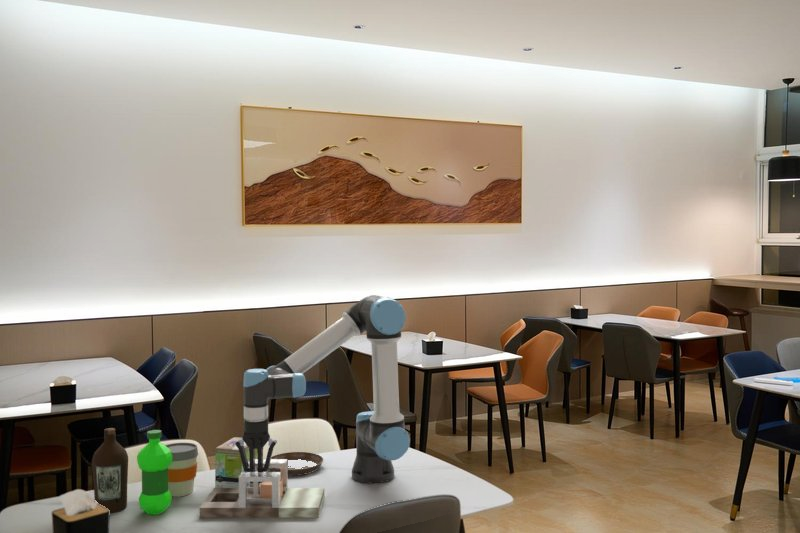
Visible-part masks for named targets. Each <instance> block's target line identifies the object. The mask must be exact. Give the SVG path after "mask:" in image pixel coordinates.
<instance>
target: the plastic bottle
mask: <svg viewBox="0 0 800 533" xmlns="http://www.w3.org/2000/svg"><path fill="white" fill-rule="evenodd" d="M162 437H163V436H162V430H161V429H152V430H151V429H150V430H148V431H146V438H147V440H148V443H147V444H145V446H144V447H142V448H141V449H140V450H139V451H138V454H137V456H136V461H137V466H138V468H139V469H140V470H141V492H140V495H139V497H138V504H139V506H140V508H141V510H142V511H144V512H145V513H146V514H147V515H151V516H155V515H160V514H162V513H163V512H165V511H166V510H167V509H168V508H169V507H170V505H171V504H172V499H173V497H172V496H171V494H170V492H169V490H168V467H169V466H170V465H171V463H172V454H171V451H170V449H169V448H168V447H166V446H165V445H166V444H164V443H162V442H161V438H162Z"/></svg>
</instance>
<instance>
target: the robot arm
mask: <svg viewBox="0 0 800 533" xmlns="http://www.w3.org/2000/svg"><path fill="white" fill-rule="evenodd" d="M405 324H406V310H405V308H404V307H403V305H402V304H401V303H400V302H399V301H397V300H395V299H394V298H391V297H388V296H387V297H386V296H381V295H375V294H374V295H372V294H371V295H368V296H365V297H364V298H362V299H360V300H359V301H357V302H356V303H355V304H353V305H352V306H351V307H349V308H348V309H347V310H345V311H343V313H342V316H341V318H339V319H338V320H336V321H335V322H334V323H332V324H331V325H329V326H328V327H327V328H326V329H324V330H323V331H322V332H320V333H318V334H317V335H316V336H315V337H313V338H312V339H311V340H309V341H308V342H306V343H305V344H304V345H302V346H300V348H299V349H297V350H296V351H294V352H293V353H292V354H290V355H289V356H288V357H286V358H285V359H284V360H282V361H281V362H279V363H278V364H276V365H271V366H268V367H267V368H266V369H264V368H249V369H247V370H245V371H244V373H243V384H242V387H243V419H244V420H243V435H242V437H241V438H242V439H240V440H237V442H236V443H235V445H236V446H237V448H238V449H239V453H240V457H241V461H242V465H243V468H244V471H245V472H255V449H257V452H258V472H268V470H269V469H270V468H269V465H270V461H271V457H272V456H273V453H274V452H273V451H274V447H275V446H276V445H277V442H278V440H276V439H273V438H271V434H269V433H270V432H269V419H268V417H269V400H274V399H289V398H297V397H302V396H304V395H305V394H306V392H307V379H306V377H305V374H304V373H306V372H307V371H308V370H310V369H311V368H312V367H314V366H315V365H317V364H318V363H319V362H321V361H322V360H324V359H325V358H326V357H328V356H329V355H330V354H331V353H332V352H334V351H336V350H337V349H338V348H339V347H342V345H343V344H345V343H346V342H347V341H349V340H350V339H351V338H353V337H354V336H361V334H363V333H365V332H366V340H368V341H369V342H370V344H371V345H370V346H371V369H372V393H373V394H372V395H373V396H372V397H373V398H372V399H373V410H372V411H371V410H370V411H362V412H359V413H358V414H356V422H355V427H356V428H355V430H356V431H355V433H356V434H355V438H356V442H355V443H356V444H355V445H356V453H355V454H356V455H355V459H354V462H353V464H352V468H351V478H352V479H353V480H355V481H356V482H360V483H365V484H377V483H384V482H389V481H391V480H393V479H394V478H395V468H394V464H393V463H392V462H393V461H396V460H400V459H401V458H402V457H403V456H404V455H405V454H406V453H407V452H408V450H409V447H410V443H411V438H410V434H409V432H408V431H407V430H406V429H405V416H404V415H403V414H402V413H401V412H400V396H399V395H400V393H399V367H398V366H399V365H398V364H399V362H398V341H399V340H400V339H401V338H402V329H403V327H404V326H405ZM244 442H245V443H246V445H247V446H248V447H249V453H250V467H249V464H248V460H247V456H246V452H245V448H244ZM267 443H268V446H269V447H268V449H267V454H266V457H265V459H266V462H265V466H264V467H263V459H264V447H265V445H266V444H267ZM250 483H253V495H258V494H259V492H260V484H261V483H262V482H250Z"/></svg>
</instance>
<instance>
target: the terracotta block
mask: <svg viewBox="0 0 800 533" xmlns="http://www.w3.org/2000/svg"><path fill="white" fill-rule="evenodd" d="M282 495H283V479H281V478H280V498H281V497H282ZM260 498H272V482H262V483H260Z"/></svg>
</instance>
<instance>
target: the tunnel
mask: <svg viewBox="0 0 800 533" xmlns="http://www.w3.org/2000/svg"><path fill="white" fill-rule="evenodd" d="M265 462H266V458H263V467H264V466H265ZM248 464H249V467H250V461H249V462H248ZM257 468H258V459H255V472H242V473H241V474H240V476H239V508H246V506H247V504H272V508H279V506H280V504H281V498H280V479H283V493H286V490H287V488H289V484H288V482H289V480H288V479H289V478H288V476H289V475H288V461H287V459H271V461H270V465H269V469H270V468H280V472H274V471H267V472H257ZM247 482H272V498H247V488H248V493H253V483H250V486H249V487H247ZM259 493H260V492H259Z"/></svg>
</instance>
